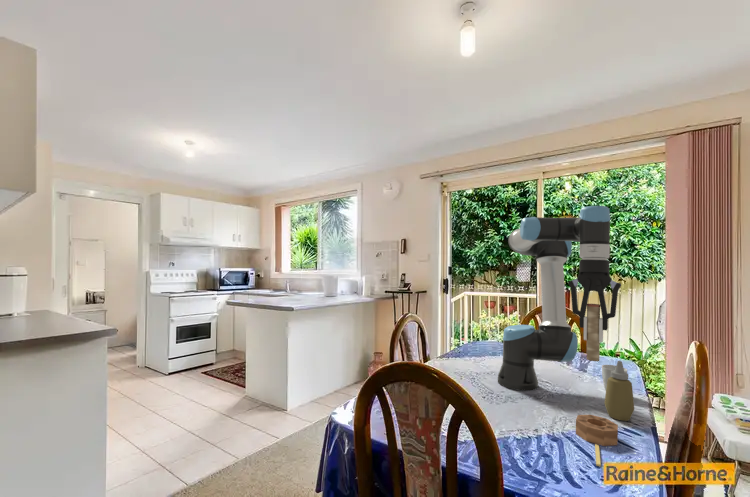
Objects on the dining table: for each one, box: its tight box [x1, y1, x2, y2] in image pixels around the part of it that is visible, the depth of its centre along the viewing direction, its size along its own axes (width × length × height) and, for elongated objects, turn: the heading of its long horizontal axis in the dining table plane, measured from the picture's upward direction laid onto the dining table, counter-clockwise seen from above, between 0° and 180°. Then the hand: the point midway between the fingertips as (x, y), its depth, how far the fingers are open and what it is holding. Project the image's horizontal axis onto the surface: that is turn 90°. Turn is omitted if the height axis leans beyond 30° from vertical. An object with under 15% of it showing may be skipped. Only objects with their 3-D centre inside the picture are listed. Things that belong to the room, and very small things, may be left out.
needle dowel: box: [586, 303, 601, 362], centre depth 105 cm, size 3×3×16 cm
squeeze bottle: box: [603, 360, 635, 422], centre depth 118 cm, size 8×8×18 cm
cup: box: [601, 364, 628, 392], centre depth 138 cm, size 8×8×10 cm
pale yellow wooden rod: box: [594, 443, 601, 468], centre depth 93 cm, size 11×1×1 cm, turn 150°
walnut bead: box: [575, 414, 619, 447], centre depth 104 cm, size 10×10×4 cm
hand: (593, 340), depth 105 cm, fingers closed on needle dowel, 3 cm apart
